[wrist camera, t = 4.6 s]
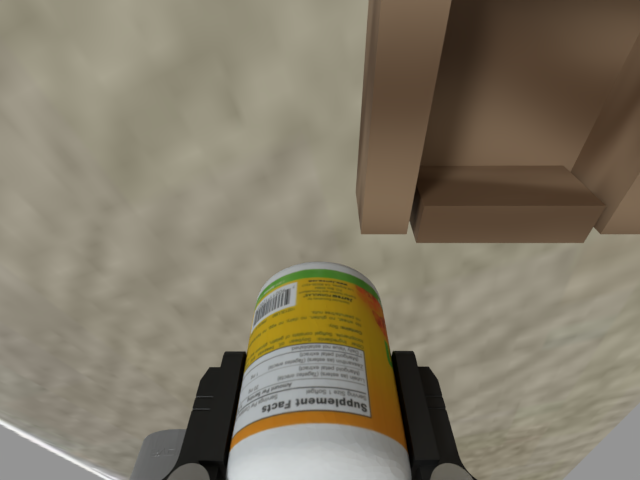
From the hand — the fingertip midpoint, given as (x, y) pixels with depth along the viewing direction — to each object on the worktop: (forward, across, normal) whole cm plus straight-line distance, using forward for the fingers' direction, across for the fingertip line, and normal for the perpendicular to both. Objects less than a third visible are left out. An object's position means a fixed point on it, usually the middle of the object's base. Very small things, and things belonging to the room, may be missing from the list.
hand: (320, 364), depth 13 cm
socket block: (+7, +7, +9) cm, 13 cm away
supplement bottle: (+3, 0, 0) cm, 3 cm away
